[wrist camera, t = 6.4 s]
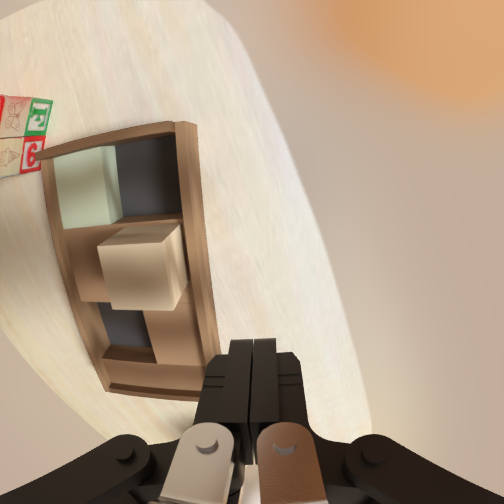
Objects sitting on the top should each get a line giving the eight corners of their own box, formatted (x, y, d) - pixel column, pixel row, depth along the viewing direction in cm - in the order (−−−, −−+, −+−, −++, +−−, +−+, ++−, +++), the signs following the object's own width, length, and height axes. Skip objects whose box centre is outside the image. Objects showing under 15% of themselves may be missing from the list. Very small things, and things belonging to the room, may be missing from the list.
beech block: (188, 280, 20) (173, 310, 16) (135, 281, 20) (112, 309, 16) (181, 222, 19) (161, 242, 15) (125, 227, 19) (97, 246, 15)
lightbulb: (242, 443, 30) (236, 523, 20) (238, 413, 28) (230, 504, 17) (294, 442, 30) (299, 522, 19) (297, 412, 28) (306, 503, 17)
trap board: (224, 377, 26) (219, 412, 22) (117, 370, 27) (100, 399, 22) (196, 124, 19) (179, 119, 15) (64, 150, 19) (29, 154, 15)
